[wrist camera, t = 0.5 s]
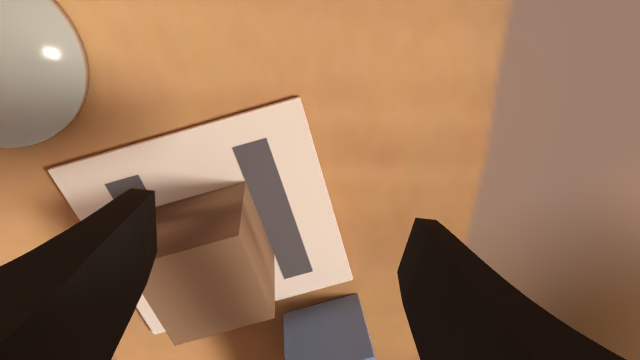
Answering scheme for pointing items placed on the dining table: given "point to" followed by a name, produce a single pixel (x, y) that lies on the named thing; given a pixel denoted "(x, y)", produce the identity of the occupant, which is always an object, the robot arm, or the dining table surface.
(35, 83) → the saucer
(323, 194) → the letter card
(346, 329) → the blue cube
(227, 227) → the walnut block
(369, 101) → the dining table surface
